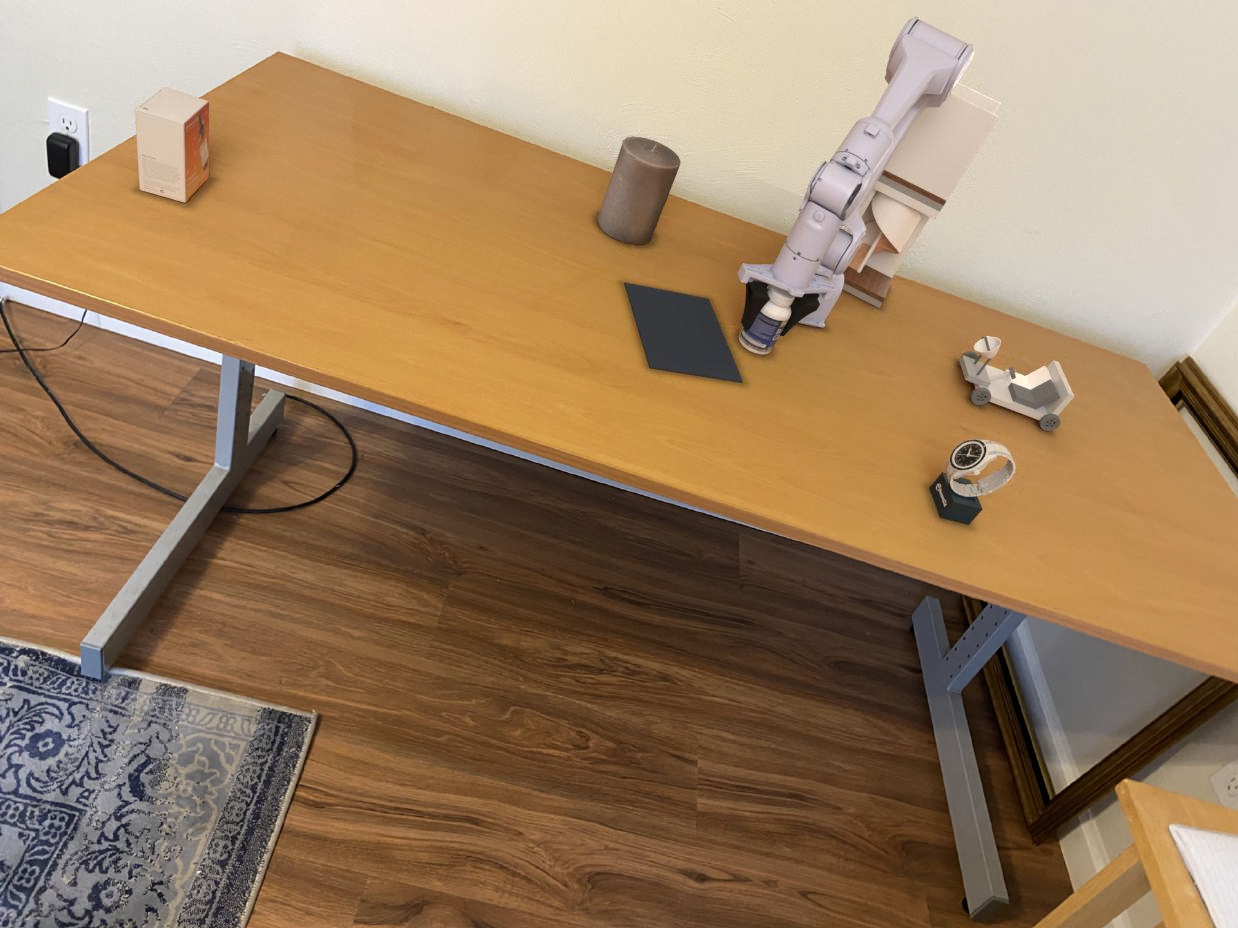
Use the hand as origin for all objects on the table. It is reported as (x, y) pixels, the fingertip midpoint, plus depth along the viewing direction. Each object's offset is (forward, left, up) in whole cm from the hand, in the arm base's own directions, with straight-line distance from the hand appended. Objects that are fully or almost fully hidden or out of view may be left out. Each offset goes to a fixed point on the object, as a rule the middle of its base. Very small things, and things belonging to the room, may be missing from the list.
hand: (762, 329), depth 124 cm
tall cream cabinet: (-29, -26, -3) cm, 39 cm away
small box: (+80, -13, -3) cm, 81 cm away
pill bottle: (0, 0, -3) cm, 3 cm away
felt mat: (+12, 0, -3) cm, 12 cm away
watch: (-20, +30, -3) cm, 36 cm away
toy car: (-45, +2, -3) cm, 45 cm away
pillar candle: (+16, -27, -3) cm, 32 cm away
